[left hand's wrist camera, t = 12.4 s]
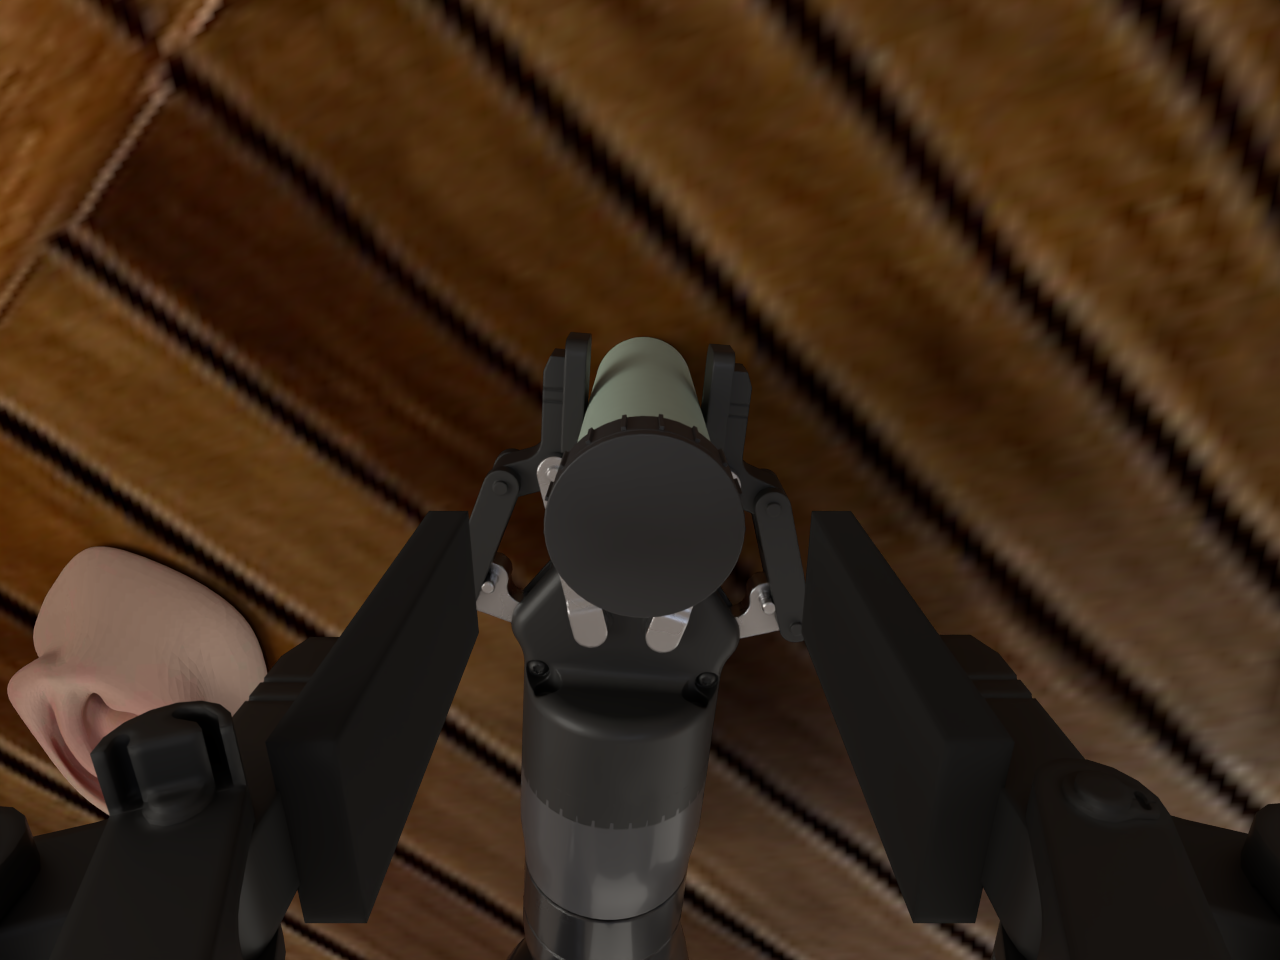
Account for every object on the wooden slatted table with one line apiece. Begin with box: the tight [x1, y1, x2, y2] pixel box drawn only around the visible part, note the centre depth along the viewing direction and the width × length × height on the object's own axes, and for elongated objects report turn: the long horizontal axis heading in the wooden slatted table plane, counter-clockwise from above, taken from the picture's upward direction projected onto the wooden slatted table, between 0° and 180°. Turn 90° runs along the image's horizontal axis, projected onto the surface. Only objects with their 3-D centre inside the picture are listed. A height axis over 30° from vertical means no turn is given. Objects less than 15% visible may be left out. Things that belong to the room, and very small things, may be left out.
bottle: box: [578, 337, 710, 441], centre depth 24 cm, size 4×4×15 cm
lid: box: [544, 414, 746, 618], centre depth 17 cm, size 5×5×2 cm
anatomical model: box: [7, 546, 267, 815], centre depth 34 cm, size 13×4×12 cm
